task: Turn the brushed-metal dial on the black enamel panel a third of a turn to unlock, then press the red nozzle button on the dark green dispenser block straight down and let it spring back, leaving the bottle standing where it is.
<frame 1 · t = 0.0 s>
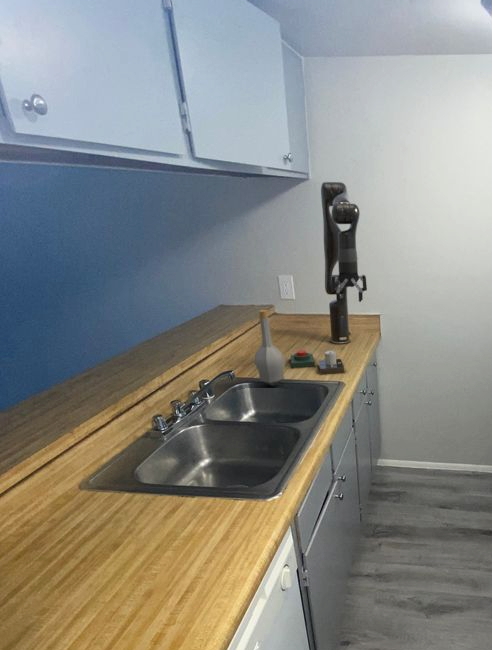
hand: (349, 302, 194), 29 cm above the worktop, tool pointing down, fingers open, 8 cm apart
dial: (330, 357, 206), point 5 cm above the worktop, hinge at 0.0°
dispenser: (302, 363, 215), on the worktop
bottle: (273, 386, 190), on the worktop
dial panel: (331, 369, 208), on the worktop
nozzle button: (301, 353, 213), point 4 cm above the worktop, slide at 0.1 cm
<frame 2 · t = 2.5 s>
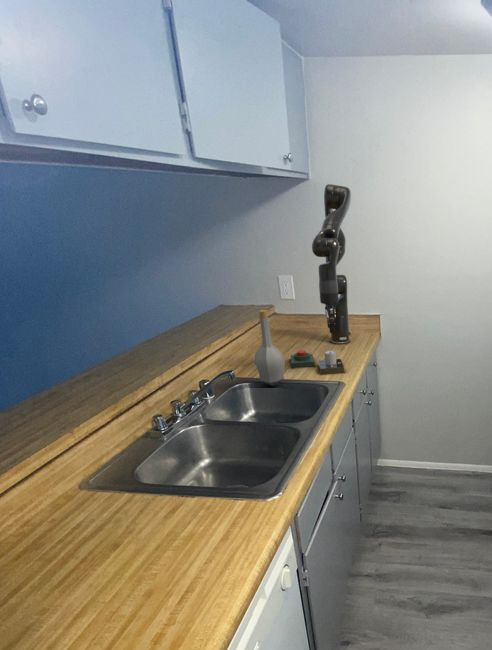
hand: (331, 330, 200), 17 cm above the worktop, tool pointing down, fingers open, 8 cm apart
nothing on the worktop moved.
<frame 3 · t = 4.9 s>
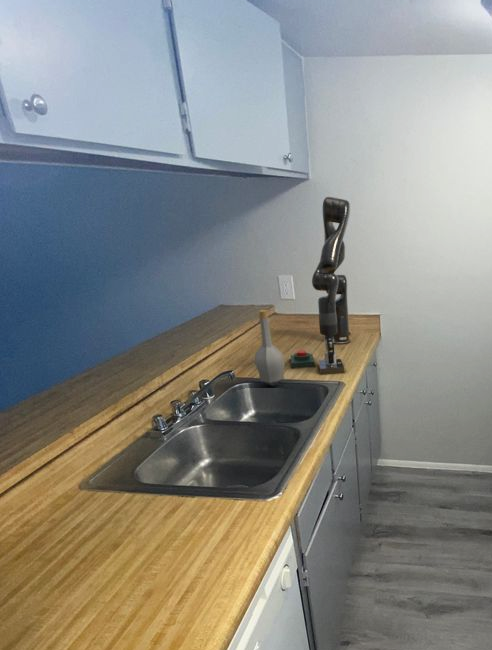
hand: (330, 361, 207), 4 cm above the worktop, tool pointing down, fingers closed on dial, 5 cm apart
dial: (330, 357, 206), point 5 cm above the worktop, hinge at 0.0°, touching gripper
everything else where it was.
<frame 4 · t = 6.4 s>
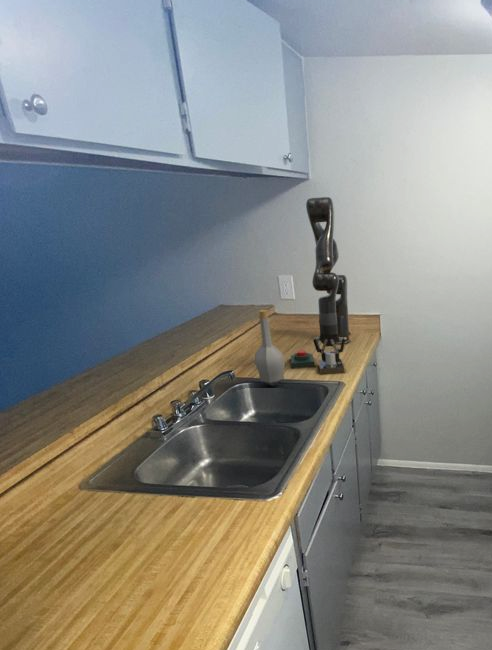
hand: (330, 361, 207), 4 cm above the worktop, tool pointing down, fingers closed on dial, 5 cm apart
dial: (330, 357, 206), point 5 cm above the worktop, hinge at 82.5°, touching gripper
everything else where it was.
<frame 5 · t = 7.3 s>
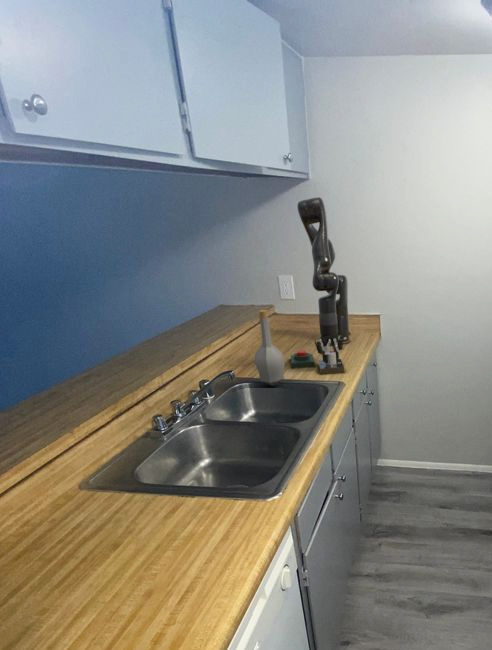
hand: (331, 361, 207), 4 cm above the worktop, tool pointing down, fingers closed on dial, 5 cm apart
dial: (330, 357, 206), point 5 cm above the worktop, hinge at 123.8°, touching gripper
everything else where it was.
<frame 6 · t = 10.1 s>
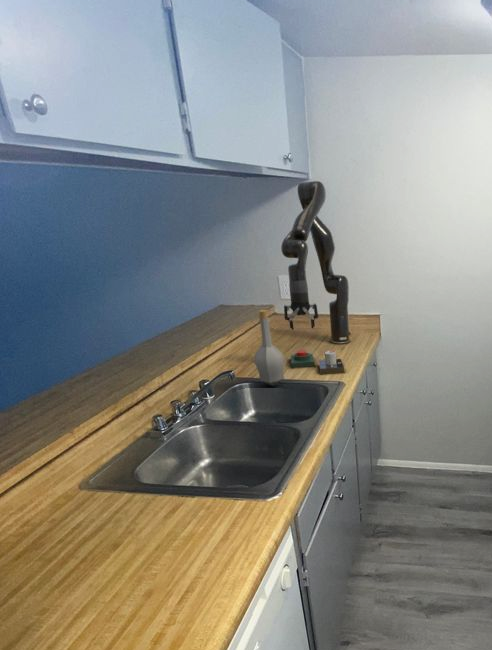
hand: (302, 328, 207), 16 cm above the worktop, tool pointing down, fingers open, 8 cm apart
dial: (330, 357, 206), point 5 cm above the worktop, hinge at 123.9°
everything else where it was.
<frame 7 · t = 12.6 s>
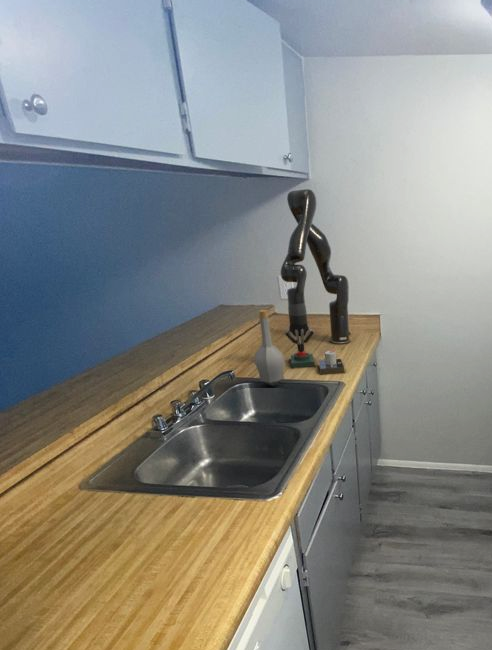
hand: (301, 351, 213), 5 cm above the worktop, tool pointing down, fingers closed
nozzle button: (301, 353, 213), point 4 cm above the worktop, slide at 0.0 cm, touching gripper
everything else where it was.
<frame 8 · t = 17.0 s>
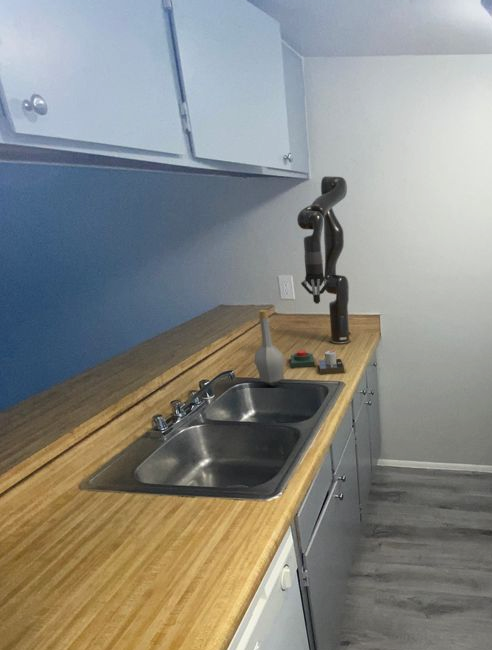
hand: (316, 303, 211), 25 cm above the worktop, tool pointing down, fingers closed
nozzle button: (301, 353, 213), point 4 cm above the worktop, slide at 0.1 cm
everything else where it was.
at the end: dial at +124° (first picture: +0°); nozzle button pushed in 1.1 cm at the most during the clip, back to where it started at the end; bottle moved 0.2 cm from its start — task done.
